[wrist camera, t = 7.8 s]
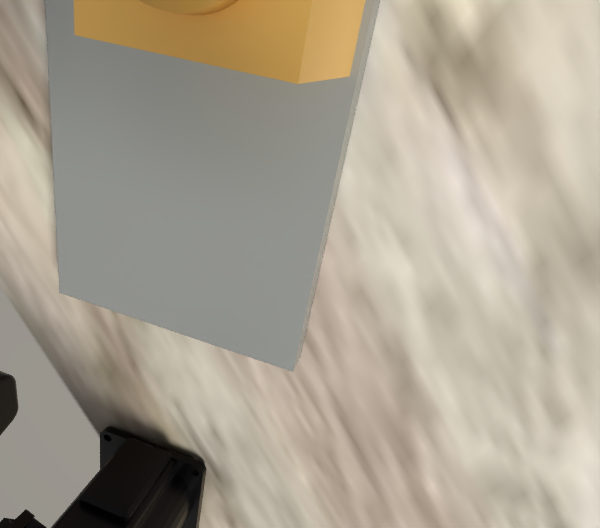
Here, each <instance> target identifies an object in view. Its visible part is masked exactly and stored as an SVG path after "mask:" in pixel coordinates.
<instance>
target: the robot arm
mask: <svg viewBox="0 0 600 528" xmlns="http://www.w3.org/2000/svg"><path fill="white" fill-rule="evenodd" d="M17 411H18V399H17V390H16V381H15V379H14V378H13V376H12V375H9V374H7V373H4V372H1V371H0V435H1V434H2V433H3V431H4V430H5V429H6V428H7V427H8V425H9V424H10V423H11V422H12V420H13V419H14V417H15V416H16V414H17ZM205 475H206V467H205V465H204V464H203V463H202V462H200V461H198V460H196V459H193V458H191V457H188V456H185V455H183V454H180V453H178V452H175V451H173V450H170V449H167V448H165V447H162V446H160V445H157V444H155V443H152V442H149V441H147V440H144V439H142V438H139V437H136V436H134V435H131V434H129V433H126V432H124V431H121V430H118V429H116V428H113V427H110V426H108V427H106V428H105V429H104V430H103V431H102V432H101V433H100V471H99V472H98V473H97V474H96V475H95V477H94V478H93V479H92V480H91V481H90V482H89V484H88V485H87V486H86V487H85V488H84V489H83V491H82V492H81V493H80V494H79V495H78V497H77V498H76V499H75V500H74V501H73V502H72V504H71V505H70V506H69V507H68V508H67V510H66V511H65V512H64V513H63V514H62V515H61V516H60V518H59V519H58V520H57V521H56V522H55V524H54V525H53V526H52V527H51V528H199V520H200V513H201V505H202V498H203V490H204V482H205ZM34 517H35V516H34V515H33V514H32V513H30V512H29V511H28V510H25V511H24V512H23V513H22V514H21V515H19V516H18V517H17V518H16V519H15V520H14V519H8V518H4V519H3V520H2V521H1V522H0V528H46V527H45V526H44V525H42V524H41V523H40V522H38V521H37V520H36V519H34Z"/></svg>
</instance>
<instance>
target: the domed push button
mask: <svg viewBox="0 0 600 528" xmlns="http://www.w3.org/2000/svg"><path fill="white" fill-rule="evenodd" d="M365 1H366V0H74V32H75V35H76V36H81V37H86V38H90V39H95V40H99V41H104V42H108V43H113V44H117V45H122V46H127V47H131V48H136V49H140V50H145V51H149V52H154V53H159V54H163V55H168V56H172V57H177V58H181V59H186V60H190V61H195V62H200V63H204V64H209V65H213V66H218V67H222V68H227V69H232V70H236V71H241V72H245V73H250V74H254V75H259V76H263V77H268V78H273V79H277V80H282V81H286V82H291V83H295V84H302V83H309V82H316V81H323V80H329V79H336V78H343V77H350V73H351V68H352V63H353V58H354V53H355V49H356V44H357V39H358V34H359V30H360V25H361V20H362V15H363V10H364V6H365Z"/></svg>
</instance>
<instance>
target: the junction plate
mask: <svg viewBox="0 0 600 528" xmlns="http://www.w3.org/2000/svg"><path fill="white" fill-rule="evenodd" d="M379 3H380V0H366V1H365V6H364V10H363V15H362V20H361V25H360V30H359V34H358V39H357V44H356V49H355V53H354V58H353V63H352V68H351V73H350V77H343V78H336V79H329V80H323V81H316V82H309V83H302V84H295V83H291V82H286V81H282V80H277V79H273V78H268V77H263V76H259V75H254V74H250V73H245V72H241V71H236V70H232V69H227V68H222V67H218V66H213V65H209V64H204V63H200V62H195V61H190V60H186V59H181V58H177V57H172V56H168V55H163V54H159V53H154V52H149V51H145V50H140V49H136V48H131V47H127V46H122V45H117V44H113V43H108V42H104V41H99V40H95V39H90V38H86V37H81V36H76V35H75V32H74V0H45V13H46V33H47V53H48V73H49V93H50V113H51V133H52V153H53V173H54V193H55V213H56V233H57V253H58V273H59V293H62V294H65V295H68V296H71V297H74V298H76V299H79V300H82V301H85V302H88V303H91V304H94V305H97V306H100V307H103V308H106V309H109V310H112V311H115V312H118V313H121V314H124V315H127V316H130V317H133V318H136V319H139V320H141V321H144V322H147V323H150V324H153V325H156V326H159V327H162V328H165V329H168V330H171V331H174V332H177V333H180V334H183V335H186V336H189V337H192V338H195V339H198V340H201V341H204V342H206V343H209V344H212V345H215V346H218V347H221V348H224V349H227V350H230V351H233V352H236V353H239V354H242V355H245V356H248V357H251V358H254V359H257V360H260V361H263V362H266V363H269V364H271V365H274V366H277V367H280V368H283V369H286V370H289V371H292V372H293V370H294V368H295V366H296V364H297V362H298V360H299V358H300V356H301V352H302V347H303V343H304V338H305V334H306V329H307V325H308V321H309V316H310V312H311V307H312V303H313V298H314V294H315V289H316V285H317V280H318V276H319V271H320V267H321V262H322V258H323V253H324V249H325V245H326V240H327V236H328V231H329V227H330V222H331V218H332V213H333V209H334V204H335V200H336V195H337V191H338V186H339V182H340V177H341V173H342V169H343V164H344V160H345V155H346V151H347V146H348V142H349V137H350V133H351V128H352V124H353V119H354V115H355V110H356V106H357V102H358V97H359V93H360V88H361V84H362V79H363V75H364V70H365V66H366V61H367V57H368V52H369V48H370V43H371V39H372V34H373V30H374V26H375V21H376V17H377V12H378V8H379Z"/></svg>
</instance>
